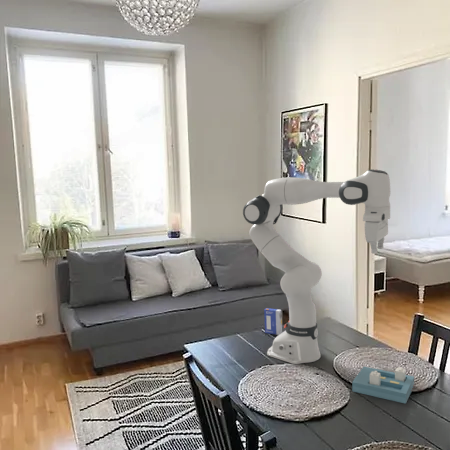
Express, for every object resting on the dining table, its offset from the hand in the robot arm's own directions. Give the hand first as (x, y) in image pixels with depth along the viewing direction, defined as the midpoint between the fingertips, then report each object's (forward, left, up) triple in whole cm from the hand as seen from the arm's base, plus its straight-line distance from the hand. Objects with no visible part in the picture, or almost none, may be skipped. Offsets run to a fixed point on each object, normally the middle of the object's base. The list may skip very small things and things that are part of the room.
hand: (377, 250), depth 171 cm
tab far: (+10, -9, -45) cm, 47 cm away
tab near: (+3, -16, -45) cm, 48 cm away
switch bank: (+5, -13, -47) cm, 49 cm away
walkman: (-54, +18, -48) cm, 74 cm away
